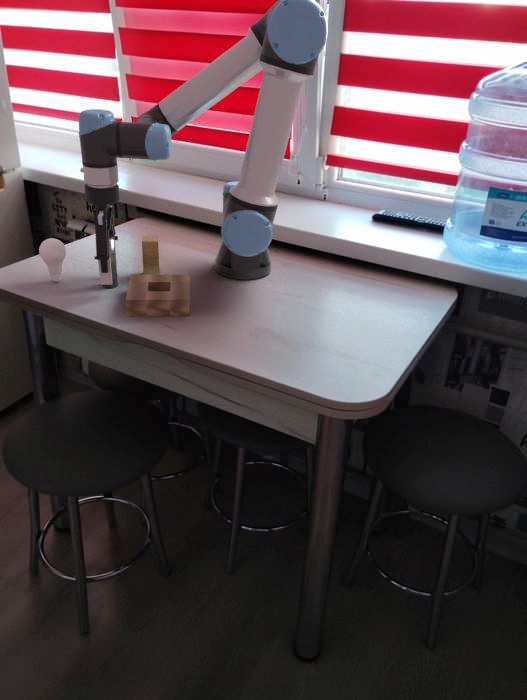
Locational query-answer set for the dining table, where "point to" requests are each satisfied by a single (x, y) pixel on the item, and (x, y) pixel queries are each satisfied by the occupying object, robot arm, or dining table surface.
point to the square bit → (151, 255)
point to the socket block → (158, 295)
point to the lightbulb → (53, 257)
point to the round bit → (112, 264)
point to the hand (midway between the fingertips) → (108, 274)
